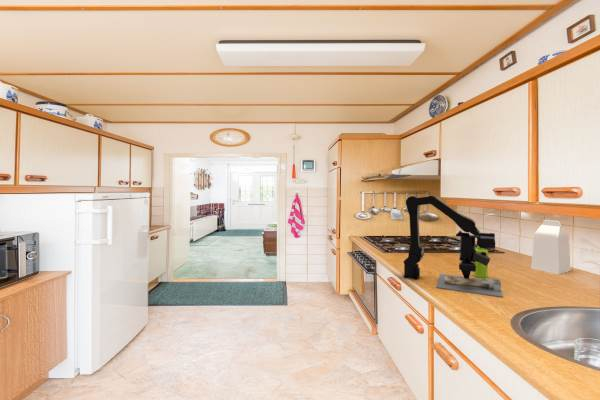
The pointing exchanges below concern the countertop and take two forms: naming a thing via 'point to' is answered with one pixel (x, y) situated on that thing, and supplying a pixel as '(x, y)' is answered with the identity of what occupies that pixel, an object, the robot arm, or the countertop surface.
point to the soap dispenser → (481, 265)
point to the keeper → (495, 283)
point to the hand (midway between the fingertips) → (466, 280)
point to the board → (467, 287)
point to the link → (464, 281)
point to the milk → (551, 248)
